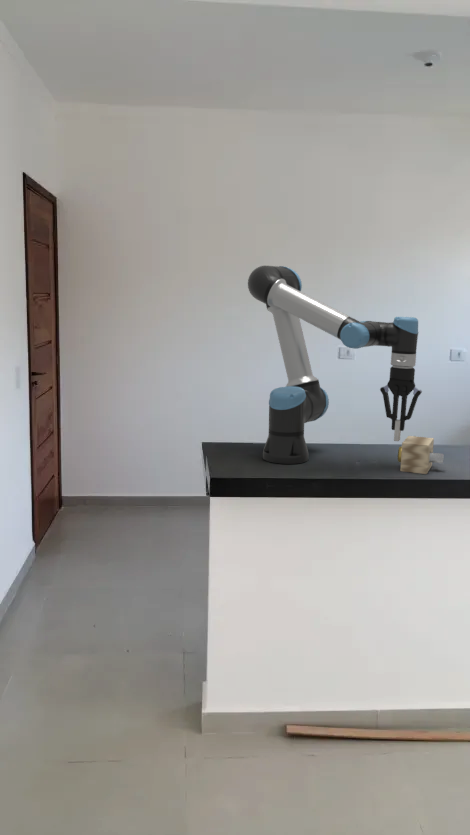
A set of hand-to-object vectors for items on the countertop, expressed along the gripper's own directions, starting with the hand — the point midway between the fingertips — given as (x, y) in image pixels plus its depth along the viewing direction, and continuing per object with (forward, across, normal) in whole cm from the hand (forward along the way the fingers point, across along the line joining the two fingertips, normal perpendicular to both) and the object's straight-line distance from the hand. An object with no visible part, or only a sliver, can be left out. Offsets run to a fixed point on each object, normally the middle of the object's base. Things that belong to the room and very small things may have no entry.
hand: (396, 440), depth 222 cm
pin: (+7, +8, 0) cm, 10 cm away
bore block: (+8, +7, 0) cm, 11 cm away
